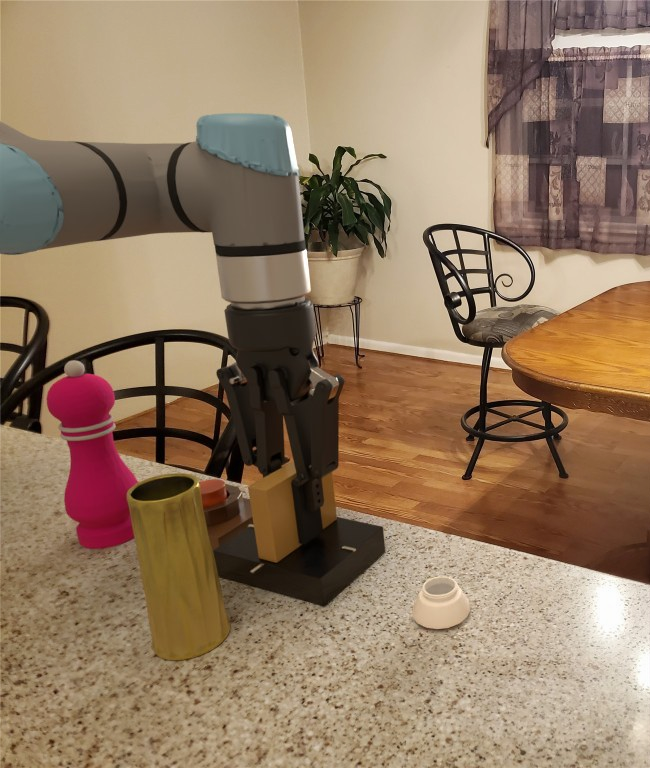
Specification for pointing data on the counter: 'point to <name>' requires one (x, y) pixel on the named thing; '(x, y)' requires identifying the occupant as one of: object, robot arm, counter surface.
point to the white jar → (440, 604)
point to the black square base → (305, 561)
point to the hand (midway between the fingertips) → (299, 533)
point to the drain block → (228, 517)
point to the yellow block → (282, 512)
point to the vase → (177, 567)
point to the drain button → (212, 492)
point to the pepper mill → (92, 458)
